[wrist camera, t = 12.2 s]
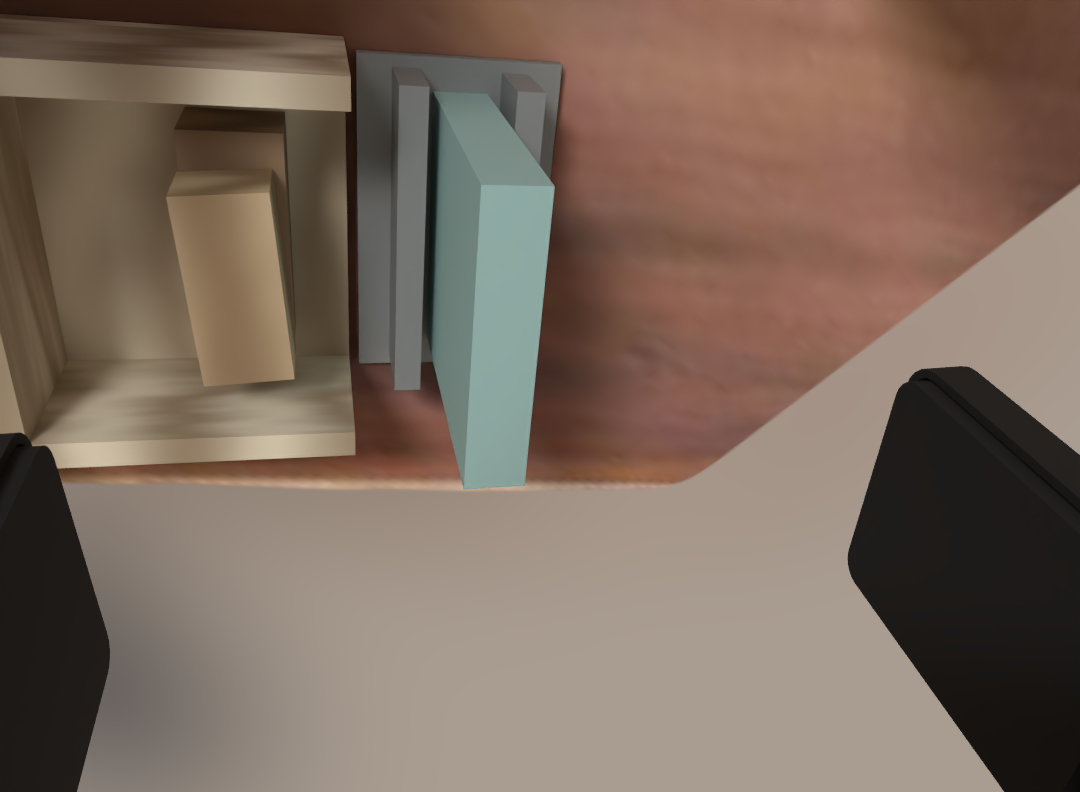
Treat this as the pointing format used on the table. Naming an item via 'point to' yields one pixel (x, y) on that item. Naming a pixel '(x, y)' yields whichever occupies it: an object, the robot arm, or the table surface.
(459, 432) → the sheet
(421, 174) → the stand
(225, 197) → the offcut top
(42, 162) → the bin
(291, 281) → the offcut low
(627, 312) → the table surface
